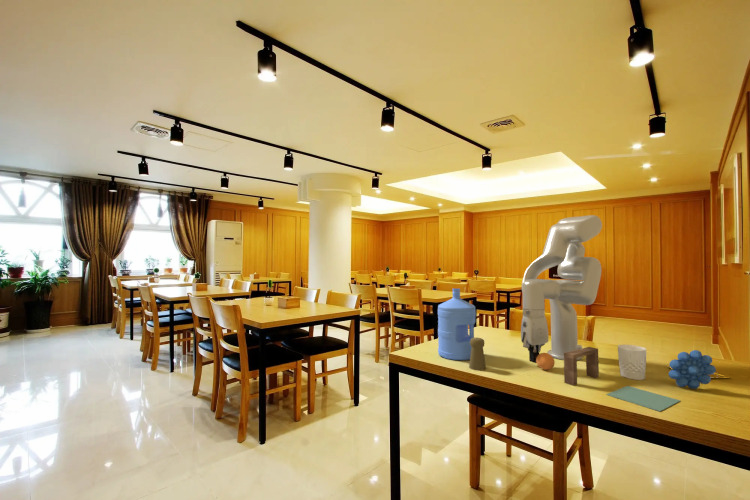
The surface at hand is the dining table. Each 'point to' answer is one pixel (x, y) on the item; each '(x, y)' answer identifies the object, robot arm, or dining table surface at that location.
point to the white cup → (632, 361)
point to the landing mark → (643, 398)
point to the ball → (545, 361)
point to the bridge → (571, 364)
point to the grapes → (691, 369)
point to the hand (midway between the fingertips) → (534, 361)
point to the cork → (477, 354)
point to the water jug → (455, 327)
